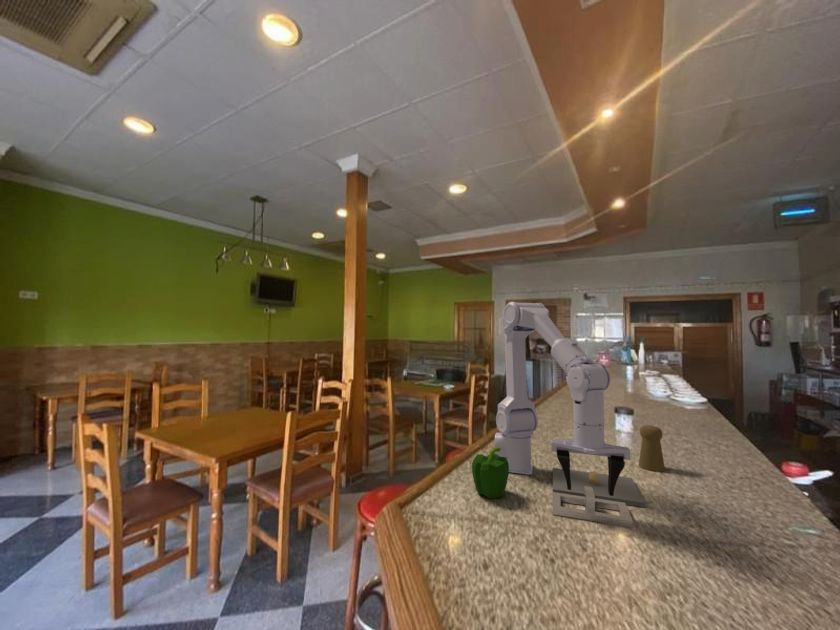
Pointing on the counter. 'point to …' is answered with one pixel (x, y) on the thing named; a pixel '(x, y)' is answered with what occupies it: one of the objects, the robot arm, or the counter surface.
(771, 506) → the counter surface
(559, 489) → the plate
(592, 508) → the double window frame
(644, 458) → the cork
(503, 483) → the bell pepper
